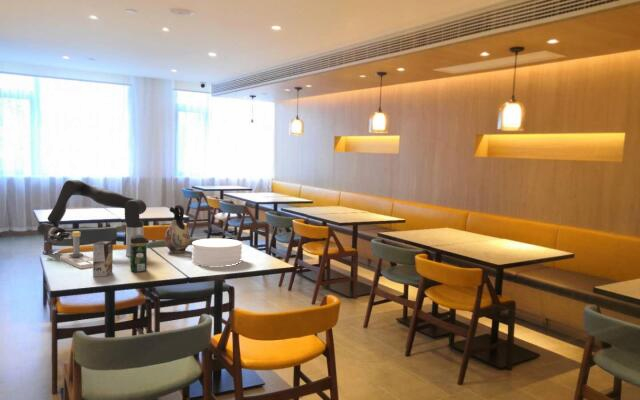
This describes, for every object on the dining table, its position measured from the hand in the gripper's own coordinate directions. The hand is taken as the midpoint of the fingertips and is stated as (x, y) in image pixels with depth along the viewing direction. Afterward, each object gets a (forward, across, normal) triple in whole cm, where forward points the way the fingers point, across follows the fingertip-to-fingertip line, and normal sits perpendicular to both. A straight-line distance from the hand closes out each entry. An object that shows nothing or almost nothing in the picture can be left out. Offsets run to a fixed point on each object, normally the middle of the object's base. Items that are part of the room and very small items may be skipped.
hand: (68, 237), depth 267 cm
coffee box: (+48, -1, +11) cm, 50 cm away
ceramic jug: (+22, +57, +11) cm, 62 cm away
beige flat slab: (+17, 0, +11) cm, 21 cm away
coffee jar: (+51, +16, +11) cm, 55 cm away
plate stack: (+58, +60, +10) cm, 84 cm away
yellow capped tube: (+11, 0, +8) cm, 14 cm away
